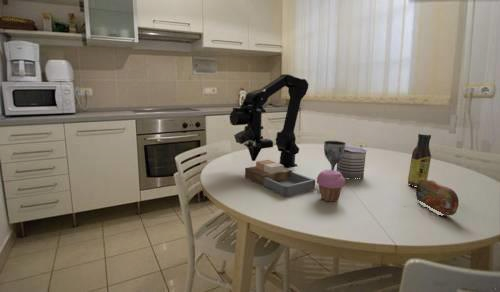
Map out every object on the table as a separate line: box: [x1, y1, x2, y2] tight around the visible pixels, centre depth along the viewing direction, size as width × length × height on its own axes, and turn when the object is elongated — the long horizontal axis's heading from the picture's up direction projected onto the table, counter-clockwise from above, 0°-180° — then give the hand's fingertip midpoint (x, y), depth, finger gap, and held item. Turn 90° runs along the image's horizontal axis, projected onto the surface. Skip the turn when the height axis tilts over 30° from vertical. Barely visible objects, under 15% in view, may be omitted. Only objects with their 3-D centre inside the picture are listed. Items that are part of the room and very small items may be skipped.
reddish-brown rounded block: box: [415, 179, 459, 216], centre depth 89 cm, size 15×3×8 cm, turn 5°
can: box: [335, 144, 367, 180], centre depth 121 cm, size 11×11×12 cm
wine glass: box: [323, 140, 347, 170], centre depth 115 cm, size 8×8×15 cm
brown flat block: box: [244, 165, 293, 187], centre depth 116 cm, size 14×12×4 cm
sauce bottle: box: [407, 133, 432, 186], centre depth 109 cm, size 6×6×20 cm
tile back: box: [255, 159, 276, 170], centre depth 116 cm, size 6×4×2 cm
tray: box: [262, 171, 316, 198], centre depth 106 cm, size 14×12×4 cm
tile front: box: [264, 162, 284, 174], centre depth 112 cm, size 6×4×2 cm
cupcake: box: [316, 169, 346, 202], centre depth 96 cm, size 9×9×10 cm
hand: (253, 160), depth 123 cm, fingers closed
